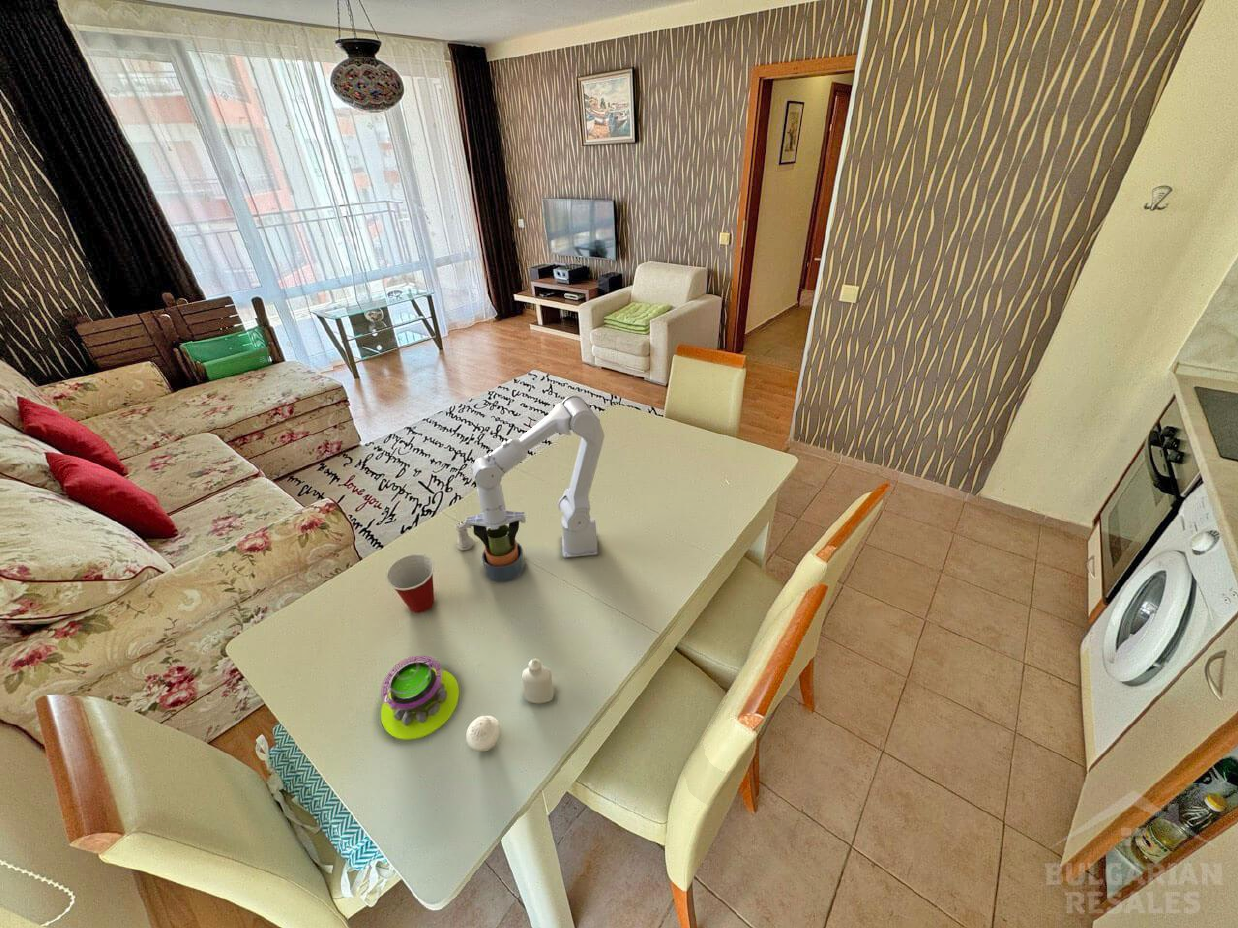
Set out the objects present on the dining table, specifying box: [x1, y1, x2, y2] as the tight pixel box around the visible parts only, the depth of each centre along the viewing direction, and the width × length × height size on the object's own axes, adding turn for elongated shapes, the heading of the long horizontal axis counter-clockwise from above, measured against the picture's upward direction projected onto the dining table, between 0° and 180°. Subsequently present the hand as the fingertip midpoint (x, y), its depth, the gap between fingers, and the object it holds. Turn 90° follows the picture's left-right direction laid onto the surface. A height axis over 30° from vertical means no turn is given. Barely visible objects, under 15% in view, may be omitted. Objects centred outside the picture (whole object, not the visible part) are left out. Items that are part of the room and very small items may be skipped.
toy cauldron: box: [380, 654, 460, 741], centre depth 96 cm, size 15×15×11 cm
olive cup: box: [486, 524, 513, 557], centre depth 125 cm, size 6×6×6 cm
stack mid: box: [484, 539, 519, 567], centre depth 128 cm, size 8×8×8 cm
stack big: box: [481, 542, 526, 583], centre depth 129 cm, size 10×10×5 cm
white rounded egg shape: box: [465, 715, 501, 752], centre depth 90 cm, size 6×6×7 cm
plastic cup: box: [385, 552, 435, 614], centre depth 116 cm, size 11×11×12 cm
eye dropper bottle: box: [521, 657, 555, 704], centre depth 96 cm, size 4×6×12 cm
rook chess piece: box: [454, 520, 475, 551], centre depth 135 cm, size 4×4×8 cm
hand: (500, 544), depth 125 cm, fingers closed on olive cup, 6 cm apart
